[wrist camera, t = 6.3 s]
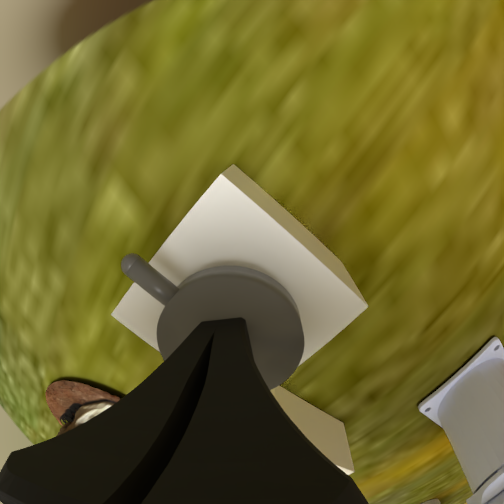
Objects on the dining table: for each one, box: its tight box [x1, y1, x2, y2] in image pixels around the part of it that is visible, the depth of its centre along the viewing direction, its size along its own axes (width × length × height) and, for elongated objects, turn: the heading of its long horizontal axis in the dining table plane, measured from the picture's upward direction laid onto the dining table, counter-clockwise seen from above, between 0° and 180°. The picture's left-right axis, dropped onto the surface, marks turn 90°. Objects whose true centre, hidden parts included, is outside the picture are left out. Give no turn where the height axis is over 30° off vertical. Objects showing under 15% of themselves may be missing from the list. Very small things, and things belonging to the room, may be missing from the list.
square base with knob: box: [111, 164, 369, 366], centre depth 13 cm, size 7×7×4 cm
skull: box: [46, 379, 121, 436], centre depth 19 cm, size 12×10×10 cm
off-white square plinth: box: [270, 385, 355, 475], centre depth 17 cm, size 7×7×4 cm
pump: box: [121, 254, 304, 390], centre depth 11 cm, size 6×5×4 cm
